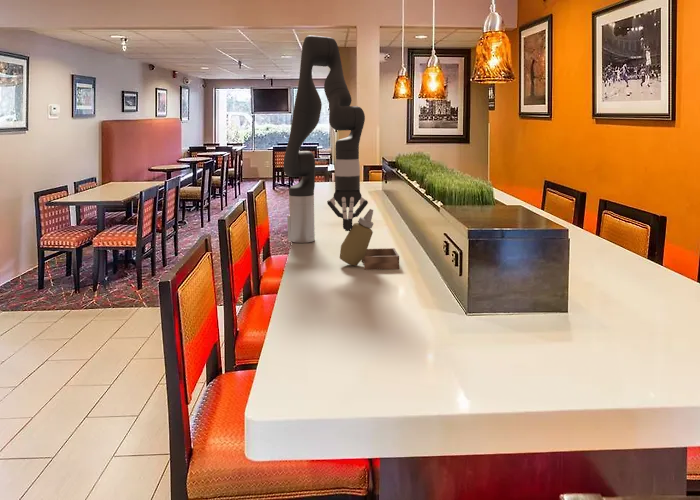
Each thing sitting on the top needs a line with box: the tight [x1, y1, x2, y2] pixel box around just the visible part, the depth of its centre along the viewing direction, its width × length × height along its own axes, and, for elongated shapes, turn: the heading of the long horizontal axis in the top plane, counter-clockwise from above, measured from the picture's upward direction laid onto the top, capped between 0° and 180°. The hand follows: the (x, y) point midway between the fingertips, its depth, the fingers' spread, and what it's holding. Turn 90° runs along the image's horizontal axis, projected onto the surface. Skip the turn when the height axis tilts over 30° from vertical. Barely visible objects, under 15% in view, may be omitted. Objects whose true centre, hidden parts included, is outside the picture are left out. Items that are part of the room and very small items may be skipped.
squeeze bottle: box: [339, 208, 374, 266], centre depth 184 cm, size 8×8×18 cm
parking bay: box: [361, 247, 400, 271], centre depth 186 cm, size 11×11×4 cm
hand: (347, 230), depth 183 cm, fingers closed
